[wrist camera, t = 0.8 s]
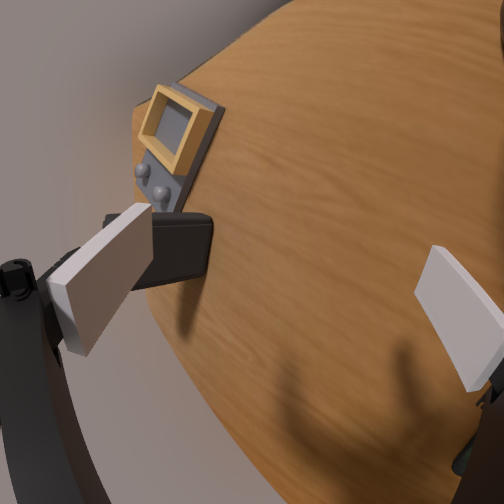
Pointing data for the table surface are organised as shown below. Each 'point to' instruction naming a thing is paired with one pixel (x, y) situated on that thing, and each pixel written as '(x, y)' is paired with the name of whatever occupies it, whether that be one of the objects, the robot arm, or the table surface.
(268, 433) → the table surface
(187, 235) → the card reader
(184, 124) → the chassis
